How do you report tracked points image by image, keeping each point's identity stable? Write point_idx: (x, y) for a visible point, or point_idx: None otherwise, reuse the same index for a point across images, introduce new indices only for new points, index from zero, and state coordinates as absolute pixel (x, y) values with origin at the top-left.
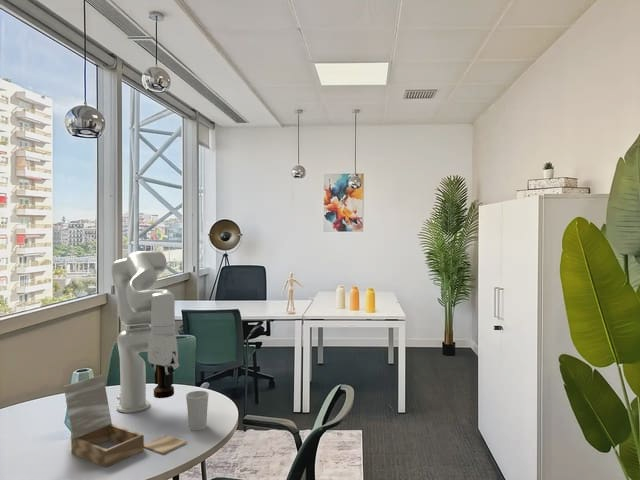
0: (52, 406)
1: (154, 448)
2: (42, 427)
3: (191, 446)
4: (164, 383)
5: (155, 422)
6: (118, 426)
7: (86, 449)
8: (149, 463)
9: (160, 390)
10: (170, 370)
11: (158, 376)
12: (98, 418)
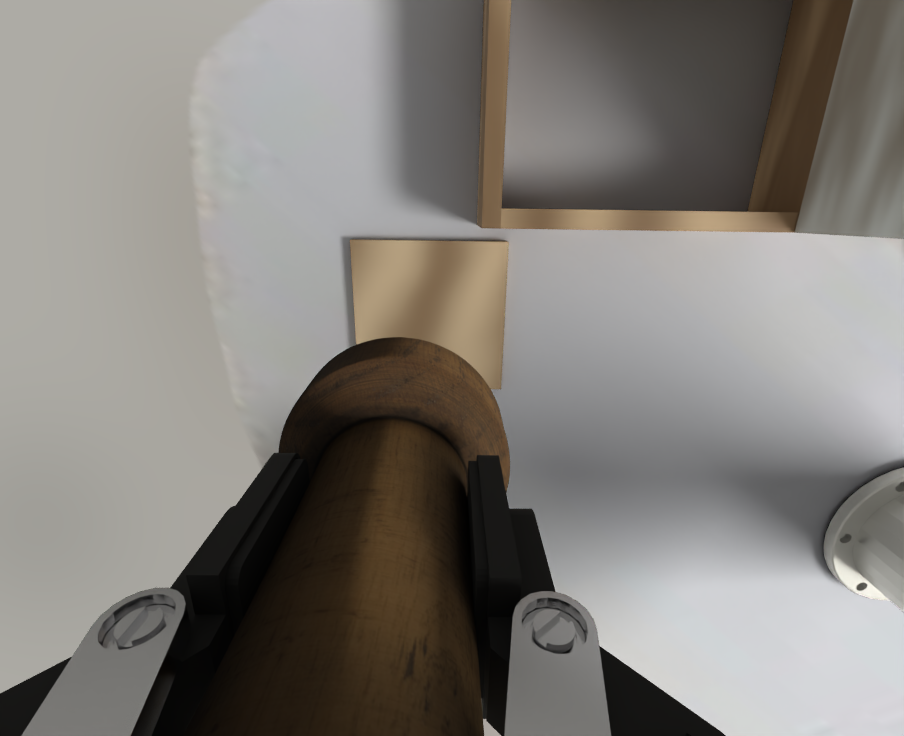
0: None
1: (426, 251)
2: None
3: (314, 373)
4: (282, 472)
5: (668, 466)
6: (725, 230)
7: None
8: (327, 131)
9: (337, 390)
10: (9, 714)
11: (380, 520)
12: (895, 127)
